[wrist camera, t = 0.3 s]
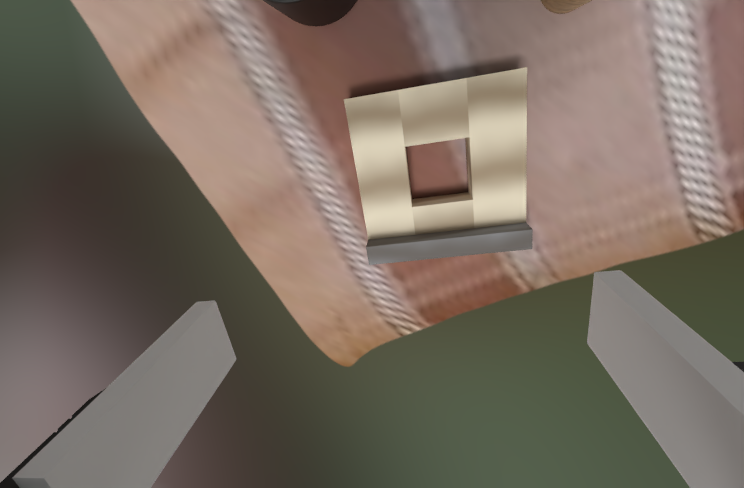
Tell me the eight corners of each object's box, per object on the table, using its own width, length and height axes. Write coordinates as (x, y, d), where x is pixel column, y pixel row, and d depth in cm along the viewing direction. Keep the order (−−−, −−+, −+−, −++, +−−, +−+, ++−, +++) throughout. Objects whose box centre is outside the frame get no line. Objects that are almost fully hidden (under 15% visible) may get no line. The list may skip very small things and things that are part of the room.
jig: (349, 99, 35) (339, 99, 30) (517, 69, 32) (534, 65, 28) (374, 245, 41) (369, 264, 36) (517, 230, 38) (532, 248, 34)
